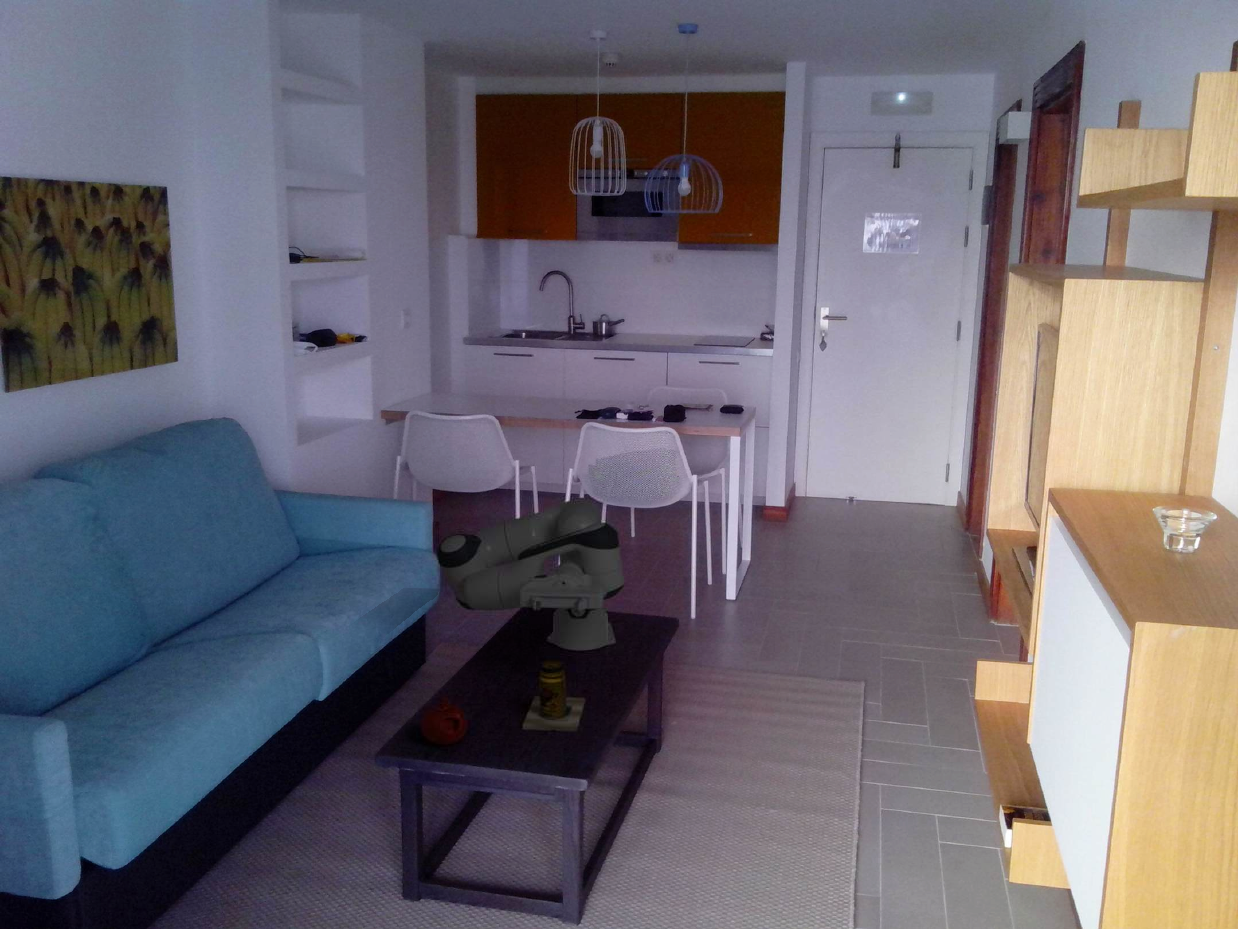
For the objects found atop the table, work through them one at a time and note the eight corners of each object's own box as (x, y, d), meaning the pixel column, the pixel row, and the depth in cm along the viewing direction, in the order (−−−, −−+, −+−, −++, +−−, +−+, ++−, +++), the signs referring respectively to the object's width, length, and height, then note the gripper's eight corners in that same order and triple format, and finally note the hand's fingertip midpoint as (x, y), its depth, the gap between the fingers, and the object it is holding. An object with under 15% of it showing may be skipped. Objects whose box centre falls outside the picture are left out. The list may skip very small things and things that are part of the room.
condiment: (535, 720, 234) (534, 669, 232) (542, 705, 243) (541, 655, 240) (567, 721, 234) (566, 671, 231) (573, 706, 242) (572, 657, 240)
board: (534, 700, 248) (534, 696, 247) (585, 702, 247) (585, 698, 246) (522, 729, 232) (522, 725, 232) (576, 731, 231) (576, 727, 231)
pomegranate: (412, 744, 225) (410, 704, 224) (440, 726, 234) (437, 686, 232) (451, 752, 221) (448, 711, 219) (477, 733, 230) (475, 693, 228)
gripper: (608, 603, 253) (602, 622, 240) (524, 601, 255) (513, 619, 241) (608, 578, 252) (602, 595, 238) (524, 576, 254) (513, 593, 240)
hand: (557, 607), depth 240 cm, fingers open, 8 cm apart
